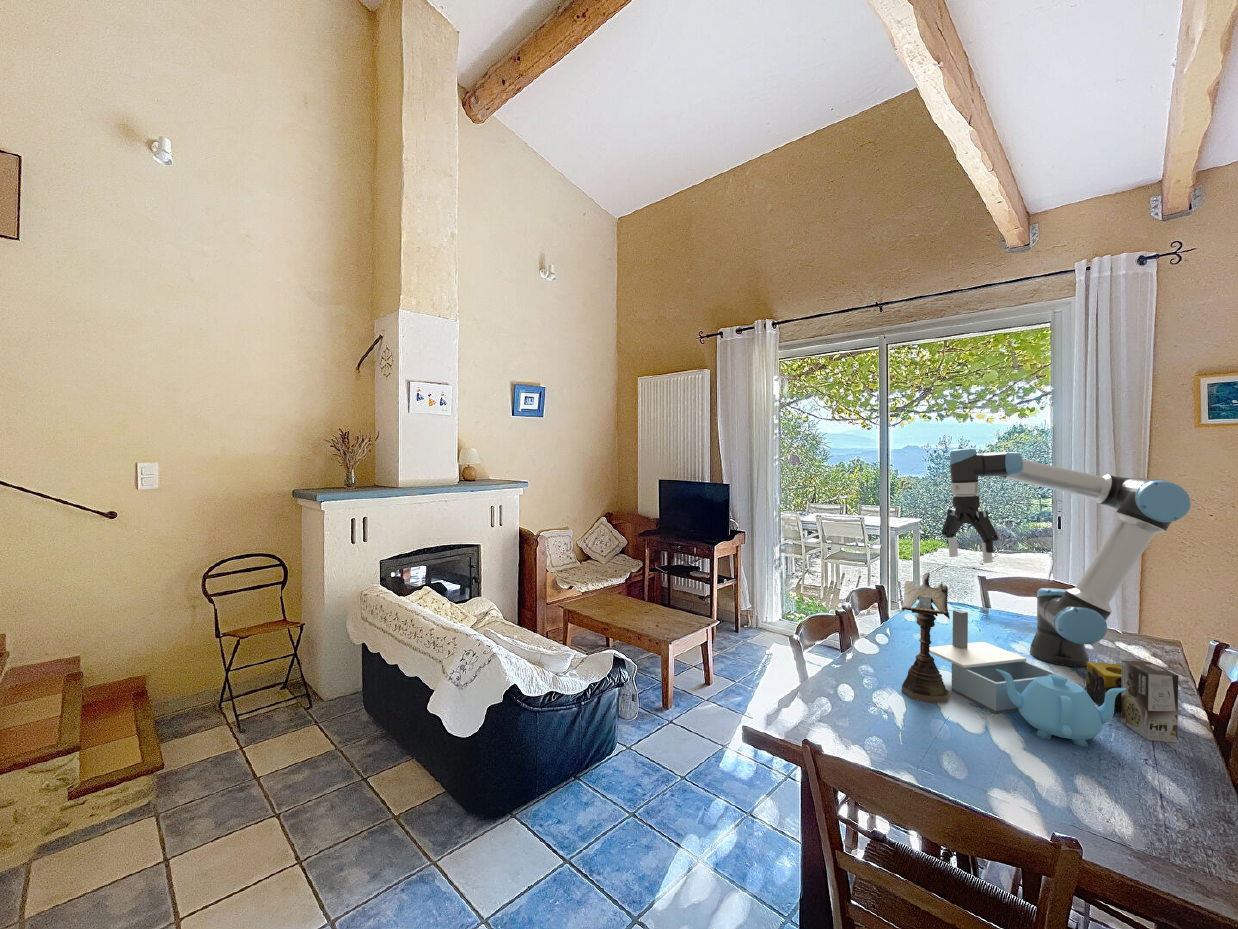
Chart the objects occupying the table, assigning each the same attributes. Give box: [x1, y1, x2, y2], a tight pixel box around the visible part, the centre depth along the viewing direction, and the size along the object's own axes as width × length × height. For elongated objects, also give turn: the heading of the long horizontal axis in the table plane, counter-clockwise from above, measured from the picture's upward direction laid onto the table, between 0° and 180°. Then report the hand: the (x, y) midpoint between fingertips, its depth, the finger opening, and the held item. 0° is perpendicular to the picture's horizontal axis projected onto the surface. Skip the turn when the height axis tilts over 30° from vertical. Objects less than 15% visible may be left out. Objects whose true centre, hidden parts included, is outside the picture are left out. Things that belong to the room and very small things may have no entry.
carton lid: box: [929, 609, 1027, 668], centre depth 158 cm, size 22×14×12 cm, turn 103°
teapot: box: [996, 669, 1126, 747], centre depth 130 cm, size 16×20×14 cm
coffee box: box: [1120, 660, 1179, 744], centre depth 130 cm, size 9×6×16 cm
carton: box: [951, 660, 1060, 715], centre depth 149 cm, size 22×14×8 cm, turn 103°
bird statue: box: [899, 572, 956, 704], centre depth 149 cm, size 17×13×35 cm
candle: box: [1085, 661, 1122, 714], centre depth 144 cm, size 10×10×10 cm
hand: (970, 559), depth 175 cm, fingers open, 13 cm apart
